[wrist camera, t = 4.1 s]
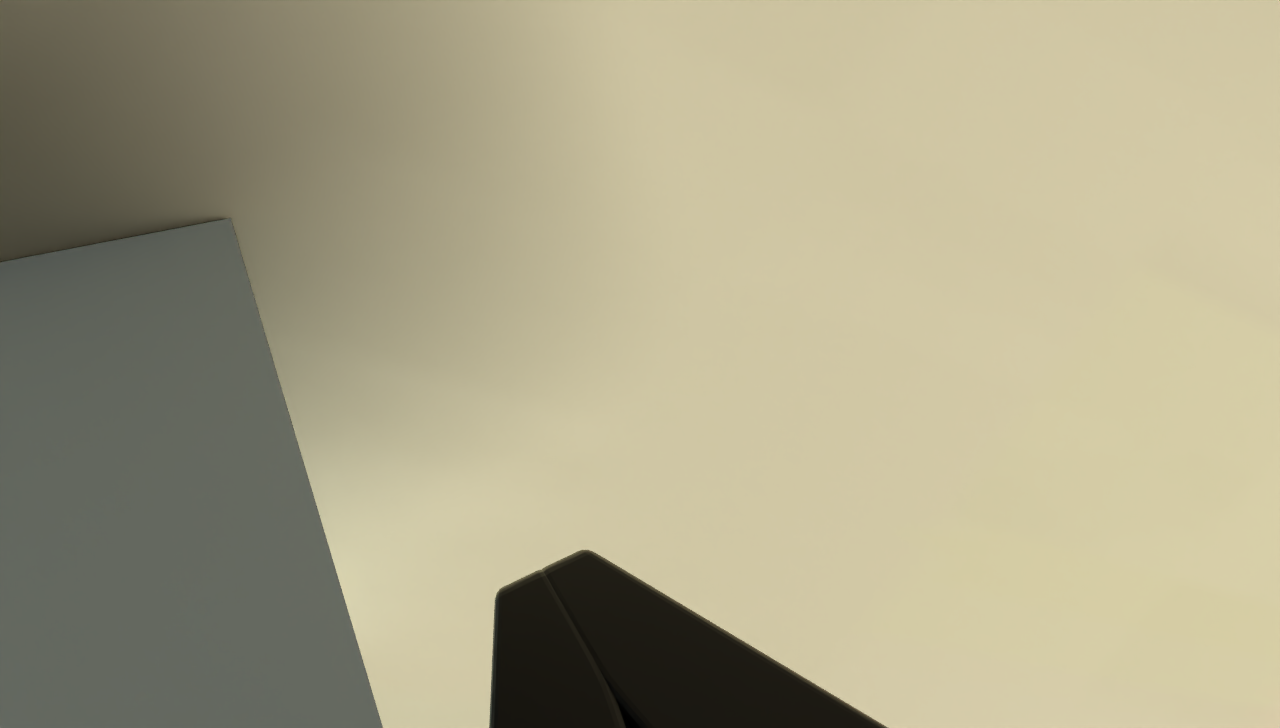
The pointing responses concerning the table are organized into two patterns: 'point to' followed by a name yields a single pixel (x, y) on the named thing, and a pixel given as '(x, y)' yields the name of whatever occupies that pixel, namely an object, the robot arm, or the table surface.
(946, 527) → the table surface
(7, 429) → the block
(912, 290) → the table surface
